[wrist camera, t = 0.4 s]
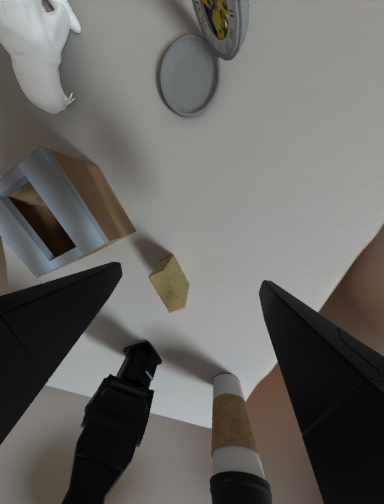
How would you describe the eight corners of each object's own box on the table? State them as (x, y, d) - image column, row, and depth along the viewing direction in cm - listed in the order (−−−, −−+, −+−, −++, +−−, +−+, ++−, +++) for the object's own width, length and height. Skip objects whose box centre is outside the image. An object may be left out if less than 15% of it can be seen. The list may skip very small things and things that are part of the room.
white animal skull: (-72, -272, 7) (17, 85, 11) (79, -21, 14) (94, 127, 19) (-197, -288, 7) (-56, 72, 12) (20, -30, 14) (49, 119, 19)
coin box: (85, 257, 25) (36, 277, 18) (45, 202, 22) (-29, 201, 15) (136, 231, 22) (104, 243, 15) (99, 167, 20) (40, 146, 13)
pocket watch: (158, 113, 17) (105, 3, 8) (170, 14, 15) (110, -331, 5) (222, 129, 17) (245, 37, 8) (246, 32, 15) (323, -283, 5)
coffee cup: (230, 398, 33) (250, 540, 19) (200, 383, 33) (197, 520, 18) (253, 380, 31) (295, 529, 17) (221, 363, 30) (237, 505, 16)
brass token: (177, 288, 25) (169, 312, 20) (161, 260, 24) (147, 277, 18) (189, 284, 25) (185, 307, 19) (173, 254, 23) (163, 270, 18)
